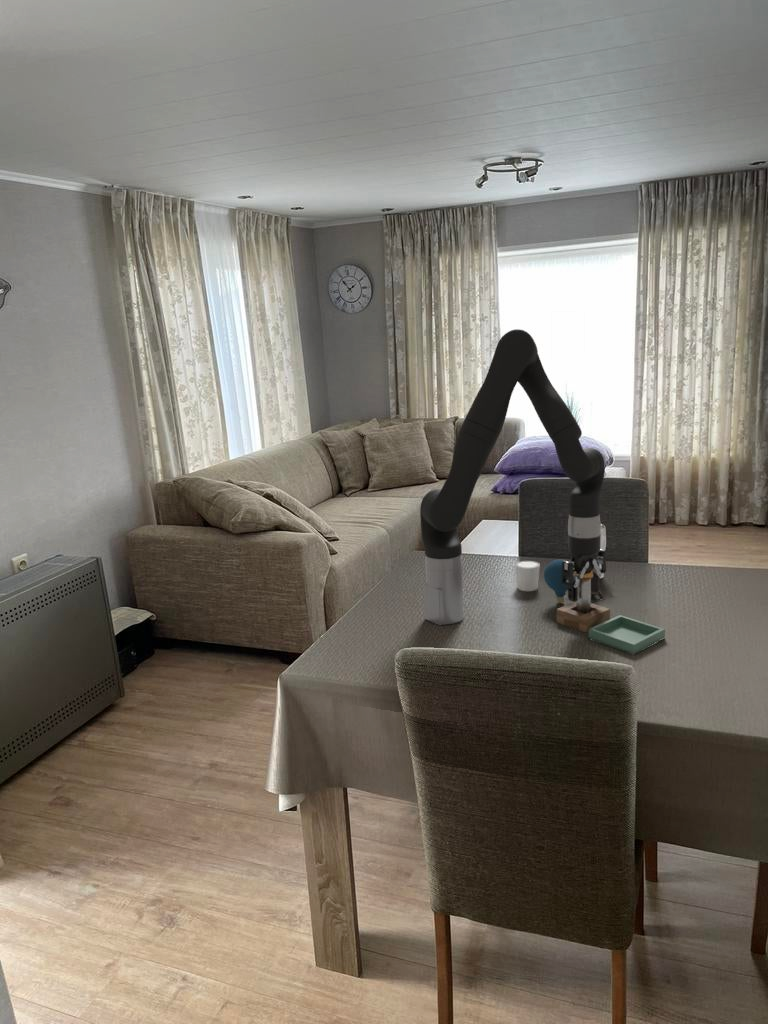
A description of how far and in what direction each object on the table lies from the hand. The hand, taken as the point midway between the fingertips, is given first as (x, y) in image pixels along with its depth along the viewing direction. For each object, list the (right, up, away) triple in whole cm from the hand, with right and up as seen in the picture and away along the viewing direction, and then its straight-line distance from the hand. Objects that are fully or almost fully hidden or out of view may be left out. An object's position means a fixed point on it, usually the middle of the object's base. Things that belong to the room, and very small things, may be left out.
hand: (584, 596), depth 177 cm
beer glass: (+12, +2, +33) cm, 35 cm away
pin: (0, -7, +1) cm, 7 cm away
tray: (+7, -9, -10) cm, 15 cm away
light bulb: (-2, -4, +14) cm, 15 cm away
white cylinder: (-9, -1, +27) cm, 28 cm away
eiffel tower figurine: (+7, -3, +17) cm, 19 cm away
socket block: (0, -7, +1) cm, 7 cm away
